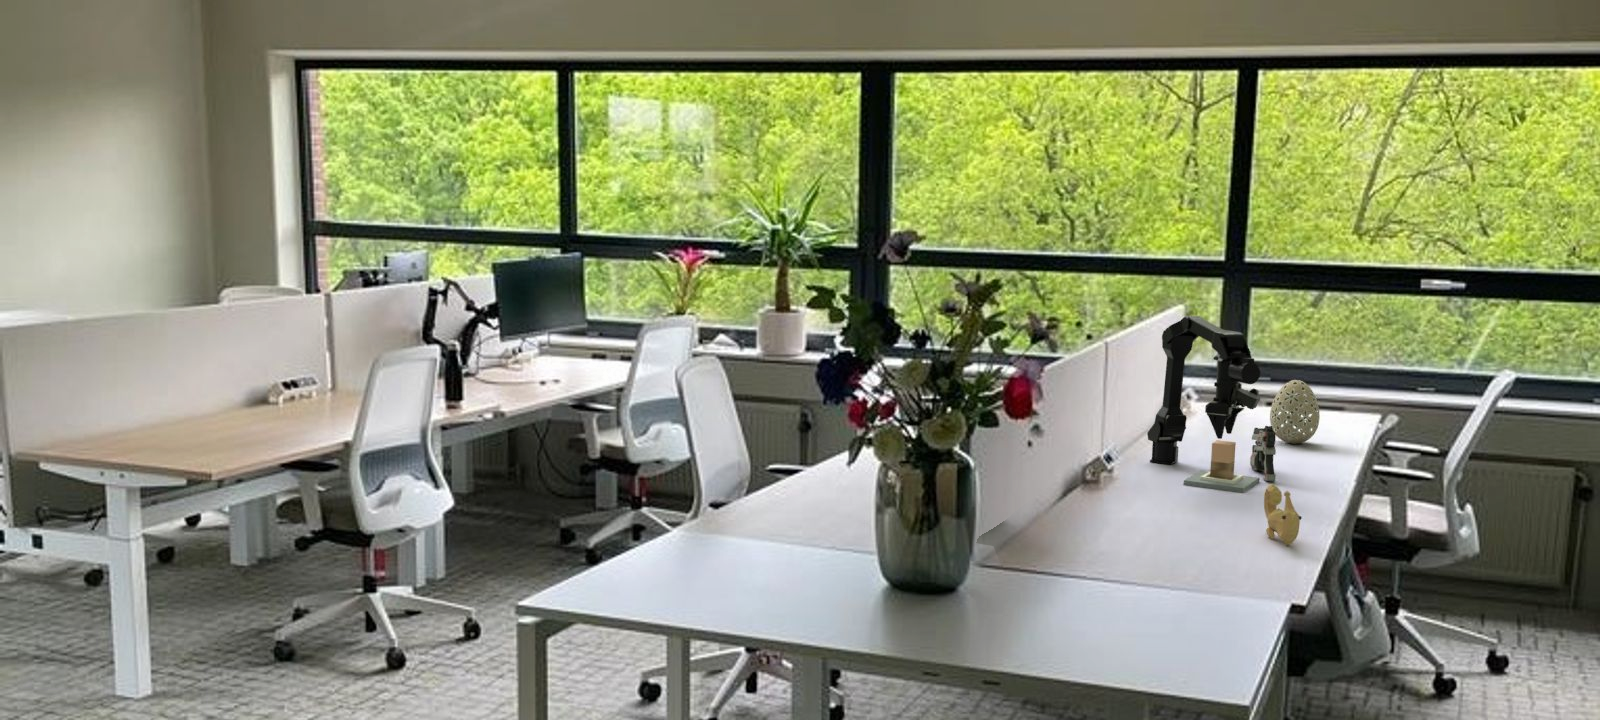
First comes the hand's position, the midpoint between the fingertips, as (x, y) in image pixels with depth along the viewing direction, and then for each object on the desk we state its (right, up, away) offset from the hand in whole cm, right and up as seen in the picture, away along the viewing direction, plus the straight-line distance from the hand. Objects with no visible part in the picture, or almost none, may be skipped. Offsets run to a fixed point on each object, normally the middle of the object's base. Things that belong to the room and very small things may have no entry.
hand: (1224, 436), depth 386 cm
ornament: (+40, -6, +62) cm, 74 cm away
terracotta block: (0, -7, +1) cm, 7 cm away
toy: (-4, -21, -57) cm, 61 cm away
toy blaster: (+15, -12, +15) cm, 24 cm away
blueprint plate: (0, -13, +2) cm, 13 cm away
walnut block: (0, -12, +2) cm, 12 cm away
